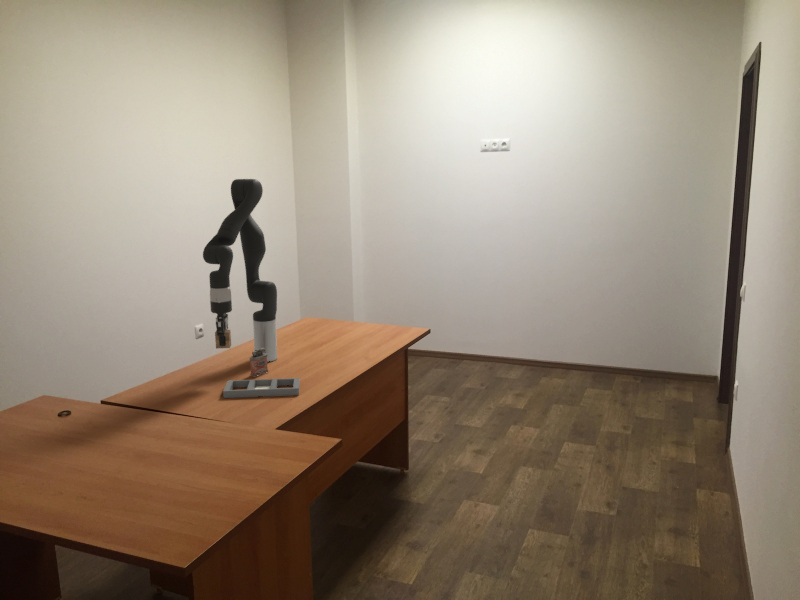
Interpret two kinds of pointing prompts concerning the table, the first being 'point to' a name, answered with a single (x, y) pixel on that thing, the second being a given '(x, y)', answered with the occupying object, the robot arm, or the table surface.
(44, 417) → the table surface
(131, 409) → the table surface
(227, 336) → the wooden block
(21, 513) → the table surface
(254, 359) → the lighter
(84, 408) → the table surface
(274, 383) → the grey compartment tray
